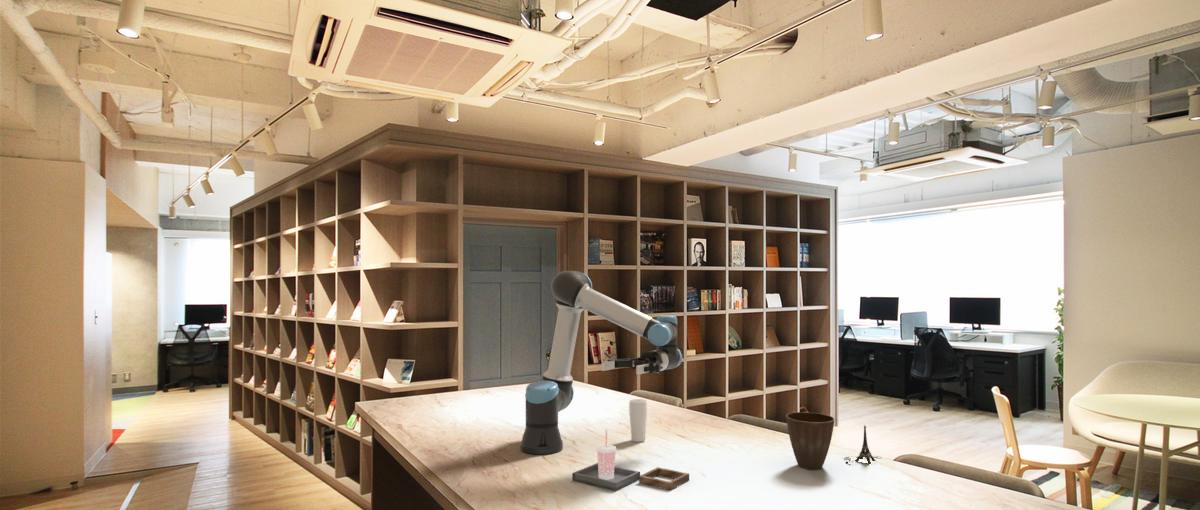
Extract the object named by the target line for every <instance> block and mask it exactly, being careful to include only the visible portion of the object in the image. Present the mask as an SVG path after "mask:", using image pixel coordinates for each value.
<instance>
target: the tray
mask: <svg viewBox="0 0 1200 510" xmlns="http://www.w3.org/2000/svg"><path fill="white" fill-rule="evenodd" d="M571 476H572V478H571V480H572V482H576V483H581V484H584V485H589V486H593V487H597V488H601V489H605V490H609V491H614V492H617V491H620V490H621V489H624V488H625V487H628V486H630V485H631V484H634V483H636V482H639V476H641V471H638V470H633V469H629V468H624V467H618V466H614V478H613V479H610V480H605V479H601V478H599V474H598V462H596V463H594V464H591V465H589V466H587V467H584V468H581V469H580V470H579V469H578V470H576V471H574V472H572V475H571Z"/></svg>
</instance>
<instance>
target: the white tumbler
mask: <svg viewBox="0 0 1200 510" xmlns="http://www.w3.org/2000/svg"><path fill="white" fill-rule="evenodd" d="M628 401H629V403H628V405H629V407H628V408H629V409H628V413H629V424H630V434H631V435H630V436H631V437H630V438H631V441H632V442H633V443H634V442H635V443H642V442H645V441H646V433H647V432H646V431H647V430H646V429H647V421H648V420H647V418H648V401H647V399H642V398H633V399H630V400H628Z"/></svg>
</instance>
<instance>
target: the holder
mask: <svg viewBox="0 0 1200 510" xmlns="http://www.w3.org/2000/svg"><path fill="white" fill-rule="evenodd" d="M661 475H663V476H662V477H665V476H668V477H667V478H670V477H673V478H672V480H671V481H669V480H668V481H667V480H663V479H660V478H659V479H658V478H656V477H658V476H661ZM675 478H676V479H675ZM688 480H689V481H690V473H689V472H688V473H687V472H683V471H678V470H673V469H668V468H665V467H664V468H662V467H659V466H658V467H655V468H653V469H651V470H650V471H647V472H645V473H643V474H640V476H639V480H638V483H639V484H641V485H645V486H651V487H656V488H659V487H661V488H660V489H664V488H666V489H665V490H668V489H671V490H670V491H672V489H673V488H675V487H676V488H678V487H680V486H682V485H683V484H682V483H684V482H685V483H687V482H689V481H688ZM686 481H687V482H686ZM685 483H684V484H685ZM681 484H682V485H681ZM679 485H680V486H679ZM677 486H678V487H677ZM676 488H675V489H676ZM673 490H674V489H673Z"/></svg>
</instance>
